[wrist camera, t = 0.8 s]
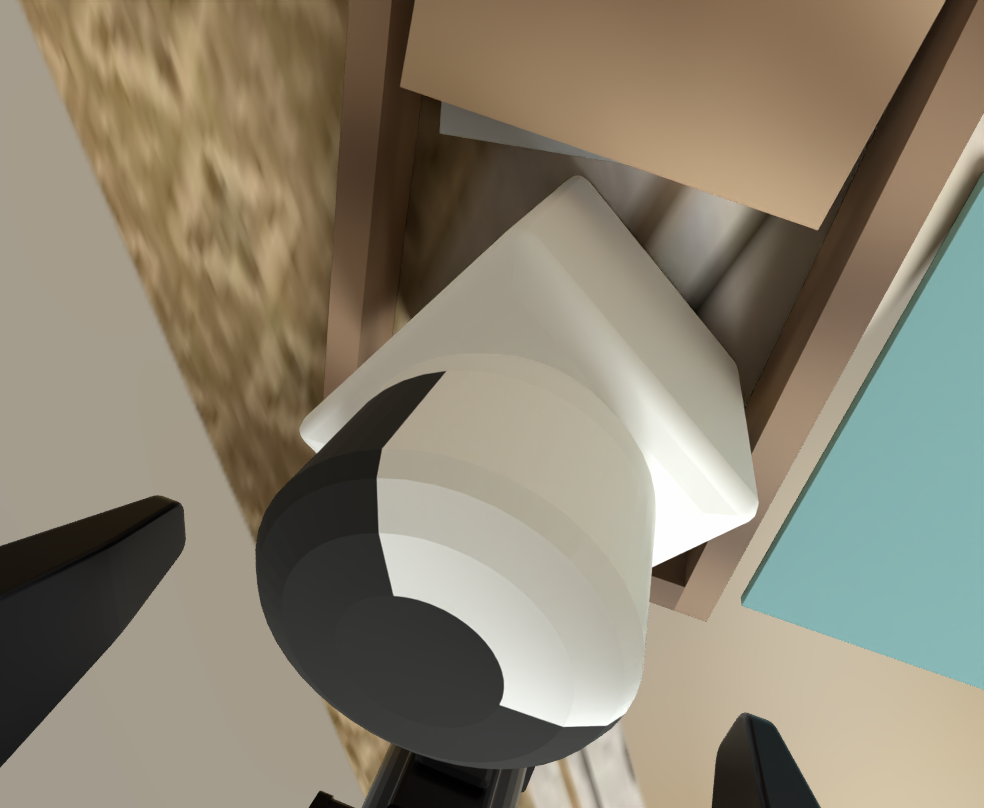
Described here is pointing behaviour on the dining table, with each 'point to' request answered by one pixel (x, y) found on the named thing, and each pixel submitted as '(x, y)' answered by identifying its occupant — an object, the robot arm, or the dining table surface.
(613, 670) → the medicine bottle
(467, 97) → the top offcut plank
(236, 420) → the dining table surface
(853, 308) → the offcut rack
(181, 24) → the dining table surface
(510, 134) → the middle offcut plank
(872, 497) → the teal mat
